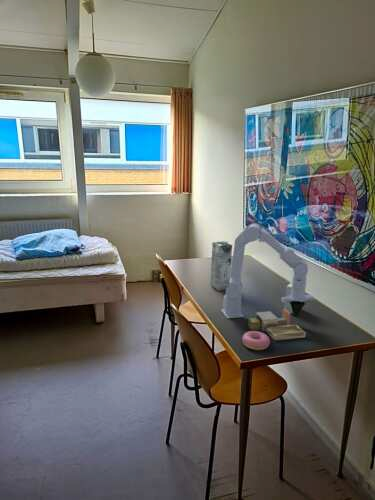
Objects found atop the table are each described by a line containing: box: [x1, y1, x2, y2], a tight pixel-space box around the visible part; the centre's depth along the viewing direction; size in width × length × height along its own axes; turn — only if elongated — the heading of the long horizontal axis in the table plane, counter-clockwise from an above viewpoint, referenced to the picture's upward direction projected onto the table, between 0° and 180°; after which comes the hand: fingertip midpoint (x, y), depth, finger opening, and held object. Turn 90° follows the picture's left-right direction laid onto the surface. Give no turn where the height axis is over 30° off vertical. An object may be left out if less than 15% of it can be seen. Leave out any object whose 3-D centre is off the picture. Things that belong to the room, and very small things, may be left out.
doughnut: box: [241, 330, 271, 351], centre depth 144 cm, size 11×11×4 cm
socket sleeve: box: [254, 311, 279, 332], centre depth 159 cm, size 8×7×5 cm
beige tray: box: [266, 324, 307, 341], centre depth 153 cm, size 7×14×2 cm, turn 104°
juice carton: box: [210, 240, 233, 292], centre depth 202 cm, size 9×10×27 cm
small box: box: [283, 282, 293, 315], centre depth 176 cm, size 8×6×13 cm
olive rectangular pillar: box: [248, 317, 262, 331], centre depth 159 cm, size 9×4×4 cm, turn 102°
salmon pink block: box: [277, 308, 292, 326], centre depth 160 cm, size 5×8×6 cm, turn 104°
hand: (295, 316), depth 162 cm, fingers closed
